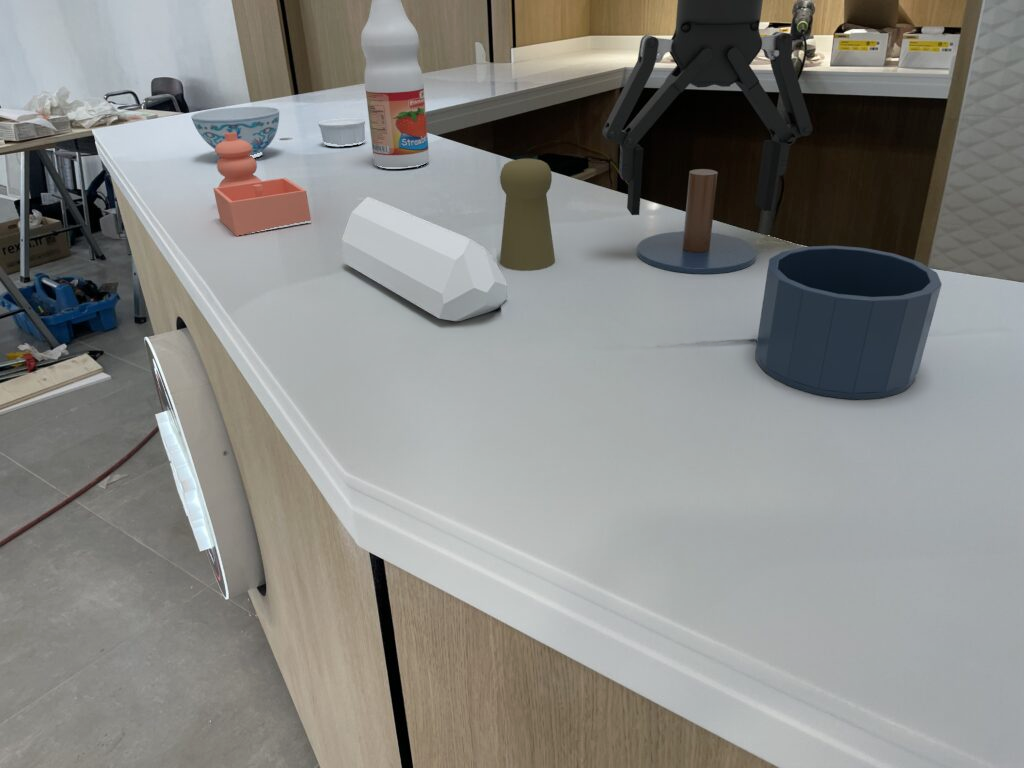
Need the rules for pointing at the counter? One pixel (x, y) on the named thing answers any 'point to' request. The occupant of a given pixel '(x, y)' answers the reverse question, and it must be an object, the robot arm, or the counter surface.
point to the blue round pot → (845, 320)
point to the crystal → (423, 262)
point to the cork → (526, 216)
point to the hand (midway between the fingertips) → (698, 209)
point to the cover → (698, 237)
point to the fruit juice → (394, 87)
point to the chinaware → (239, 125)
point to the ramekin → (343, 130)
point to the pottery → (254, 192)
